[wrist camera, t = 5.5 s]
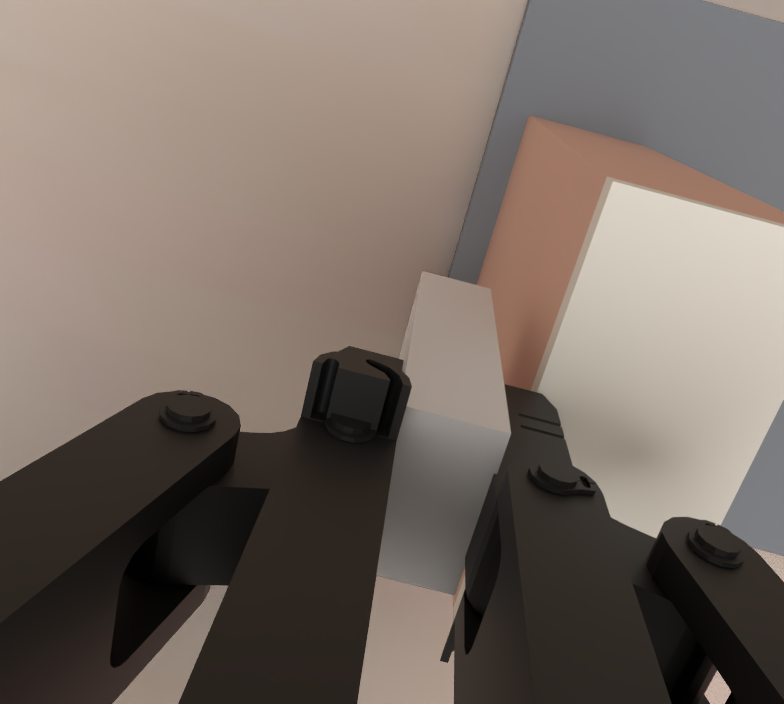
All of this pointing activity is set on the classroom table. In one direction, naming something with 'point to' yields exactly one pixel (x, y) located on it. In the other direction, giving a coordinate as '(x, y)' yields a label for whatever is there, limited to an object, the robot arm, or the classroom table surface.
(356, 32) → the classroom table surface
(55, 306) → the classroom table surface
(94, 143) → the classroom table surface
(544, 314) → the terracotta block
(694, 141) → the slate mat
